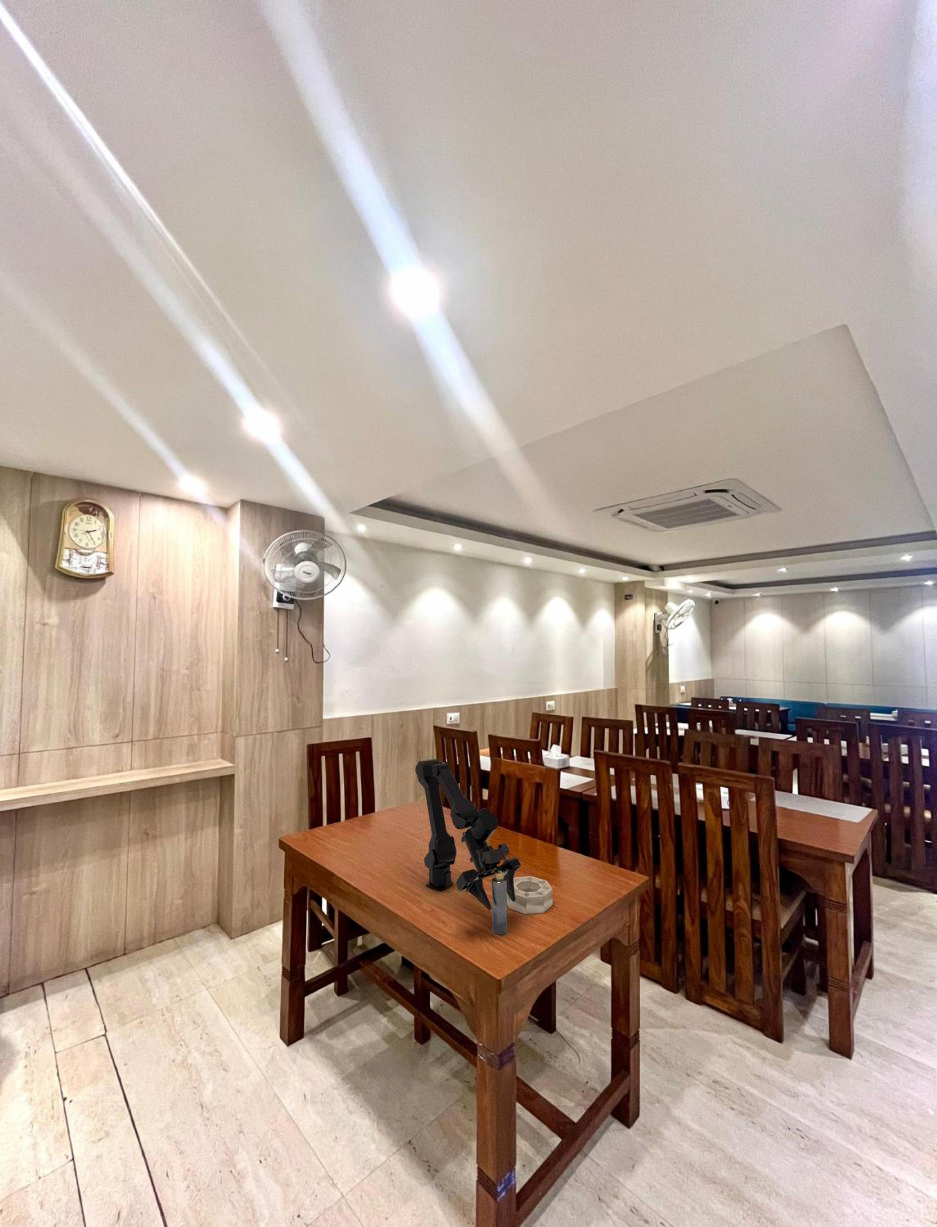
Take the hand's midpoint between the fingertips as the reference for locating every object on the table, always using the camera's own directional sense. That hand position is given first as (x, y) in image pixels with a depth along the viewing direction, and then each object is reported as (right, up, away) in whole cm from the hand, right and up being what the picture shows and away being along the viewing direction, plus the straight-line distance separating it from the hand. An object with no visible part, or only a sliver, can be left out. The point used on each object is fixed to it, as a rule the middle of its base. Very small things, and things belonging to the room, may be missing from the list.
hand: (502, 905), depth 133 cm
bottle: (-1, -7, +1) cm, 7 cm away
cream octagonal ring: (+9, -8, +16) cm, 20 cm away
